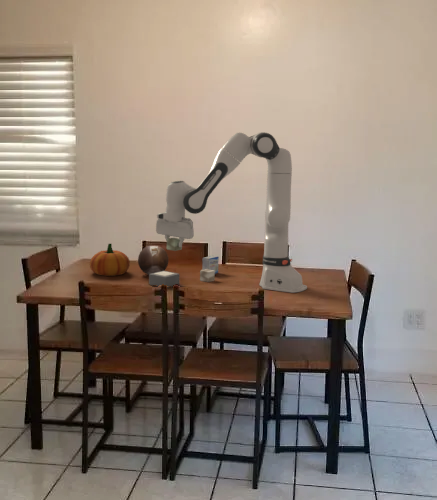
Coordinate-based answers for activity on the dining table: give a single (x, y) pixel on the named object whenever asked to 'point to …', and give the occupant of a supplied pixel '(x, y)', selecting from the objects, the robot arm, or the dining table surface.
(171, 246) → the sage block
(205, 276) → the off-white block
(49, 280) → the dining table surface
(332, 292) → the dining table surface
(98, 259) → the pumpkin
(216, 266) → the medicine box
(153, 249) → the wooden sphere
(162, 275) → the base block
